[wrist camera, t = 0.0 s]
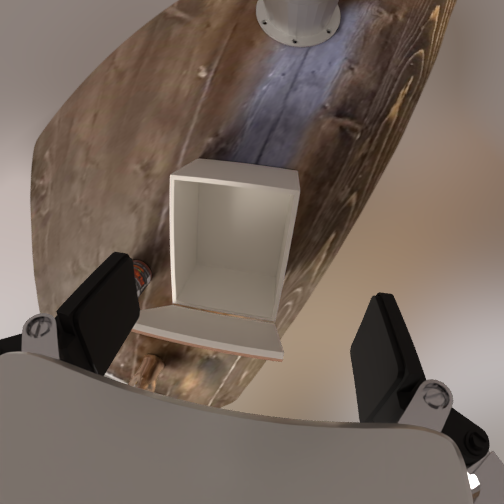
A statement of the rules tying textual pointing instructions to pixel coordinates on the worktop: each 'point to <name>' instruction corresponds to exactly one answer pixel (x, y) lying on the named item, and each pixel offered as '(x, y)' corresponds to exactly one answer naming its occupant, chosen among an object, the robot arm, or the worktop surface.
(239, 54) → the worktop surface
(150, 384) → the beer glass
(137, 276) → the supplement bottle
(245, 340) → the lid flap
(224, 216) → the carton
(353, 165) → the worktop surface
